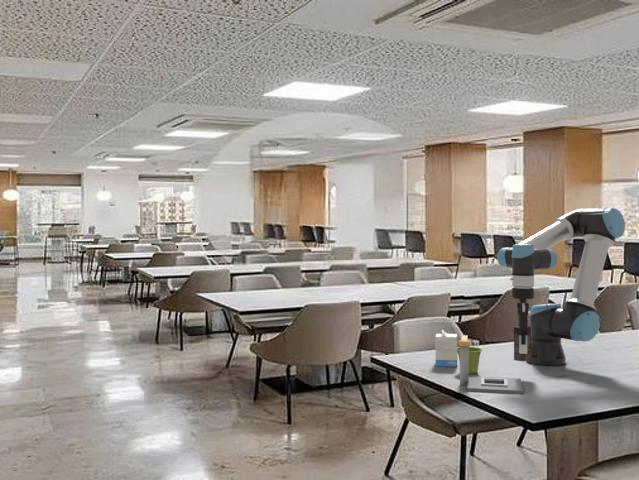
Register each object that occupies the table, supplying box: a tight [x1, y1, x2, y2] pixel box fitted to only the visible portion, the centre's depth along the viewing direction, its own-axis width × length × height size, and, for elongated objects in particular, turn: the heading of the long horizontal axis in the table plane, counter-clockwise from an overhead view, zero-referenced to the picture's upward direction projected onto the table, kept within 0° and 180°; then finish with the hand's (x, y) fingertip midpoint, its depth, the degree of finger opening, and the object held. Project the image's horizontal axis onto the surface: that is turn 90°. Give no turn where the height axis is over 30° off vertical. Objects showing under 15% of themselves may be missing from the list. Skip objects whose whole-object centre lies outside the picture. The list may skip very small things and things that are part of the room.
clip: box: [457, 334, 471, 347], centre depth 240 cm, size 14×4×2 cm, turn 167°
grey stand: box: [459, 346, 524, 395], centre depth 233 cm, size 20×18×13 cm
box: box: [513, 325, 531, 363], centre depth 244 cm, size 6×4×12 cm
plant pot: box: [456, 346, 483, 375], centre depth 255 cm, size 9×9×9 cm
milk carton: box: [434, 329, 458, 368], centre depth 268 cm, size 9×8×13 cm
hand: (522, 351), depth 244 cm, fingers closed on box, 7 cm apart
